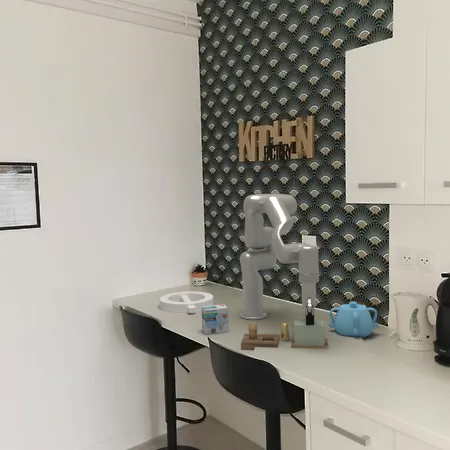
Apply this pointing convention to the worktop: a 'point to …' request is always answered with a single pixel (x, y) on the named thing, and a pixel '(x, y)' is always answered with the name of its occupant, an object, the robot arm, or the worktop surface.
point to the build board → (258, 339)
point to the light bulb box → (215, 319)
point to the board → (310, 346)
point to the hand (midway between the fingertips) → (310, 321)
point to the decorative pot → (353, 320)
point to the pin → (284, 331)
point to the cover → (309, 333)
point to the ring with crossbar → (185, 302)
